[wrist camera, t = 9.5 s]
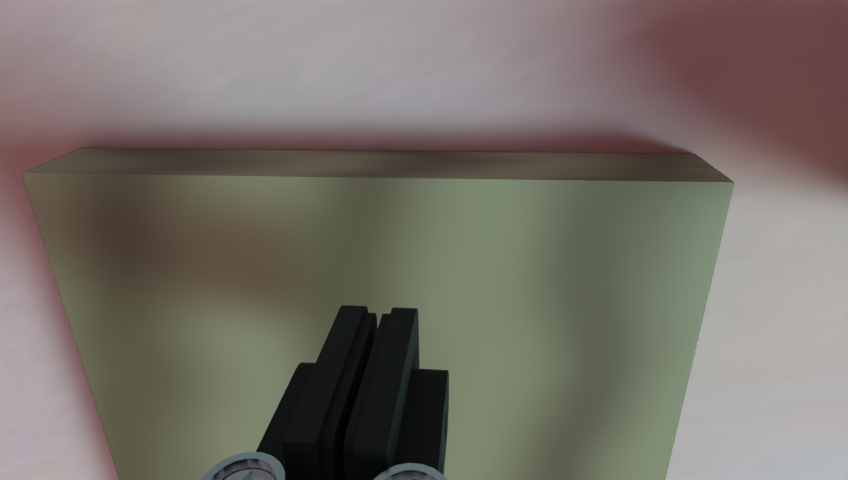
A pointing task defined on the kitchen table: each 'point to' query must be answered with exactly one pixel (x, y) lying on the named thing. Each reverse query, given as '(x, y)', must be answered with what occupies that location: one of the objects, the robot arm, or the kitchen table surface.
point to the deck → (387, 293)
